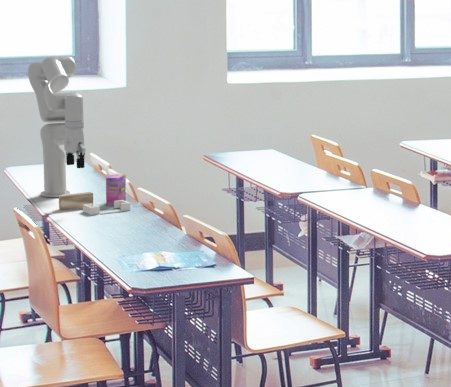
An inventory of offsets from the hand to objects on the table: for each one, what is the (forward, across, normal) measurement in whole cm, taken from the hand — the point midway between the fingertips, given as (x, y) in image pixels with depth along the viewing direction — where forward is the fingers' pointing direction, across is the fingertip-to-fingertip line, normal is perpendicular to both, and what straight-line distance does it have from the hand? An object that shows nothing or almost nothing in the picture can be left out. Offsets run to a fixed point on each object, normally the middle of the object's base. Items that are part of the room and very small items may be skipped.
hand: (75, 166), depth 417 cm
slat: (+18, 0, 0) cm, 18 cm away
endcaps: (+18, +12, +8) cm, 23 cm away
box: (+18, -1, +19) cm, 26 cm away
